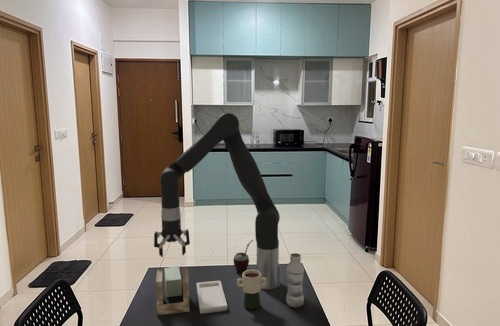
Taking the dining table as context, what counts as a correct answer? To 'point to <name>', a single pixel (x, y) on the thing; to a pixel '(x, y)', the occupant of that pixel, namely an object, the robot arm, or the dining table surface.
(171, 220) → the robot arm
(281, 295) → the dining table surface
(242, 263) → the mate gourd
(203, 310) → the tray
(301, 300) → the plastic bottle
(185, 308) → the bay
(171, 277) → the green block with tab
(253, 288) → the character mug
